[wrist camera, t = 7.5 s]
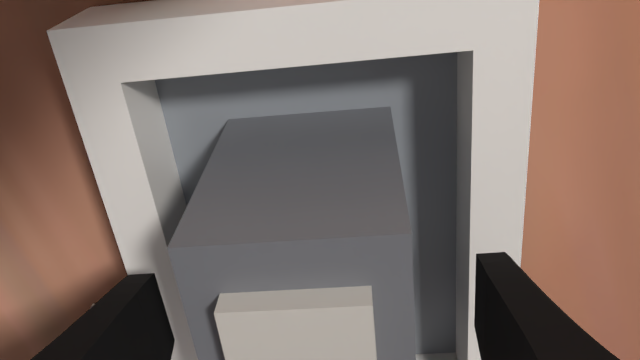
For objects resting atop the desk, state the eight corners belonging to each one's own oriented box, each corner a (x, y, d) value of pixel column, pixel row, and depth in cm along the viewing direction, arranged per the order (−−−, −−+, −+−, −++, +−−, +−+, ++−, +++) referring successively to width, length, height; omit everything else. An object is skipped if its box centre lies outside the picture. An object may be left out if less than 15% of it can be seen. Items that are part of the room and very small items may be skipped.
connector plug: (399, 299, 17) (422, 497, 12) (264, 305, 17) (226, 500, 12) (390, 106, 14) (415, 252, 9) (228, 119, 14) (158, 266, 9)
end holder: (492, 371, 18) (508, 430, 16) (199, 383, 19) (182, 441, 17) (511, -37, 13) (540, -20, 11) (89, 7, 13) (46, 30, 11)
